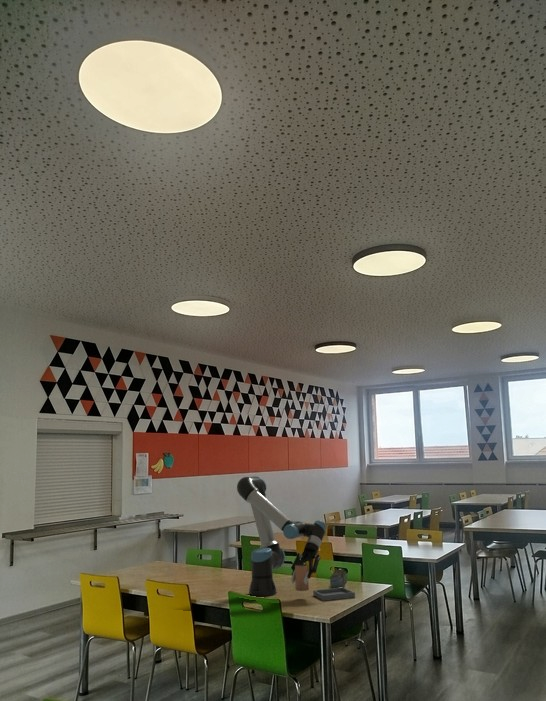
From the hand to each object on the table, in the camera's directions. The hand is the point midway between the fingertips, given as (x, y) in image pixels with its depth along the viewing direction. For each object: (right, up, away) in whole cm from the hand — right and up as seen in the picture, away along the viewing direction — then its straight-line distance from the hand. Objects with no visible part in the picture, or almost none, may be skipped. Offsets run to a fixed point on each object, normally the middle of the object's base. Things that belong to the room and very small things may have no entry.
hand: (298, 582), depth 292 cm
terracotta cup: (+2, -5, +2) cm, 5 cm away
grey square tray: (+19, -9, +3) cm, 21 cm away
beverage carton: (+25, -16, +34) cm, 46 cm away
